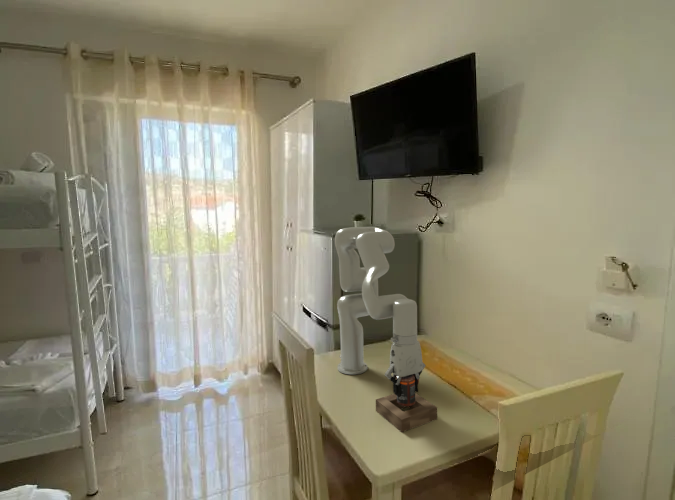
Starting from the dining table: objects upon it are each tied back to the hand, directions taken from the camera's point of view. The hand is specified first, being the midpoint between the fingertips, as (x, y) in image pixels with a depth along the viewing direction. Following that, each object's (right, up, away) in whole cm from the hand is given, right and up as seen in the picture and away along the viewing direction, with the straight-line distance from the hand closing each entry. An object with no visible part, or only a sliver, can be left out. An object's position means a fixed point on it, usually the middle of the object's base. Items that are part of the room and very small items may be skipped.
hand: (405, 391), depth 122 cm
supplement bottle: (0, -4, 0) cm, 4 cm away
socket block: (0, -8, +1) cm, 8 cm away
